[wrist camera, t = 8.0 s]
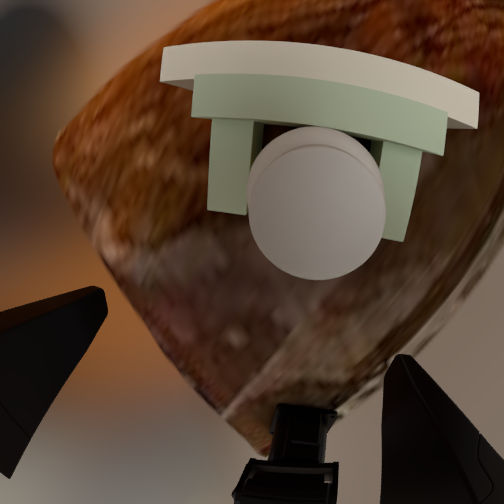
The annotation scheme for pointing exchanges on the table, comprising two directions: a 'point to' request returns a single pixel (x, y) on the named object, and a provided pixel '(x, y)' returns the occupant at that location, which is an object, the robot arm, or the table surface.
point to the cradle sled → (307, 115)
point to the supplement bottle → (316, 203)
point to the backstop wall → (322, 72)
